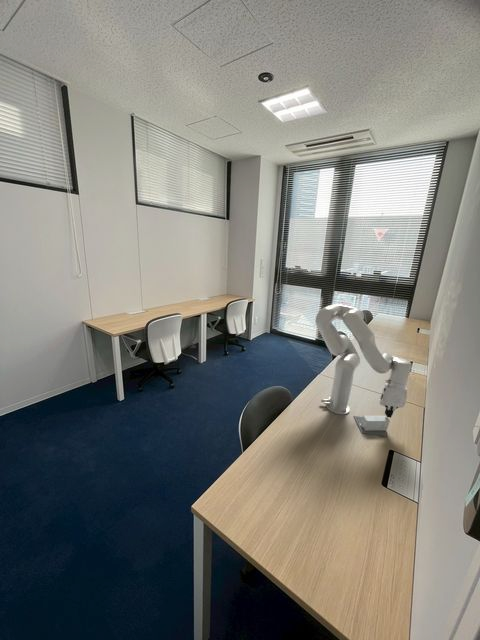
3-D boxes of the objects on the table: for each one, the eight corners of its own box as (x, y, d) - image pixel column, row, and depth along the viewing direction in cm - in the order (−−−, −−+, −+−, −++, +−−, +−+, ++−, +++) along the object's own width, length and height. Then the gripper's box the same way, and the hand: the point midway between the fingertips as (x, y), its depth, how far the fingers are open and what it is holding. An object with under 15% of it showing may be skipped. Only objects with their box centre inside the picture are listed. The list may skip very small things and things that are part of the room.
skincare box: (385, 415, 133) (362, 414, 132) (390, 421, 129) (367, 420, 128) (382, 425, 135) (360, 424, 134) (387, 431, 131) (364, 430, 130)
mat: (361, 433, 129) (361, 432, 128) (353, 416, 141) (353, 415, 141) (386, 436, 128) (387, 435, 127) (376, 419, 140) (376, 418, 140)
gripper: (384, 385, 123) (375, 418, 128) (417, 389, 122) (407, 422, 127) (377, 378, 130) (369, 409, 136) (409, 381, 129) (399, 413, 134)
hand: (388, 415), depth 131 cm, fingers closed
